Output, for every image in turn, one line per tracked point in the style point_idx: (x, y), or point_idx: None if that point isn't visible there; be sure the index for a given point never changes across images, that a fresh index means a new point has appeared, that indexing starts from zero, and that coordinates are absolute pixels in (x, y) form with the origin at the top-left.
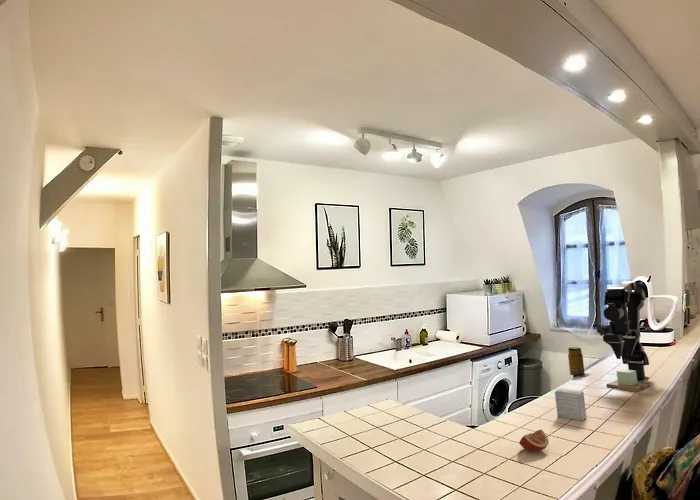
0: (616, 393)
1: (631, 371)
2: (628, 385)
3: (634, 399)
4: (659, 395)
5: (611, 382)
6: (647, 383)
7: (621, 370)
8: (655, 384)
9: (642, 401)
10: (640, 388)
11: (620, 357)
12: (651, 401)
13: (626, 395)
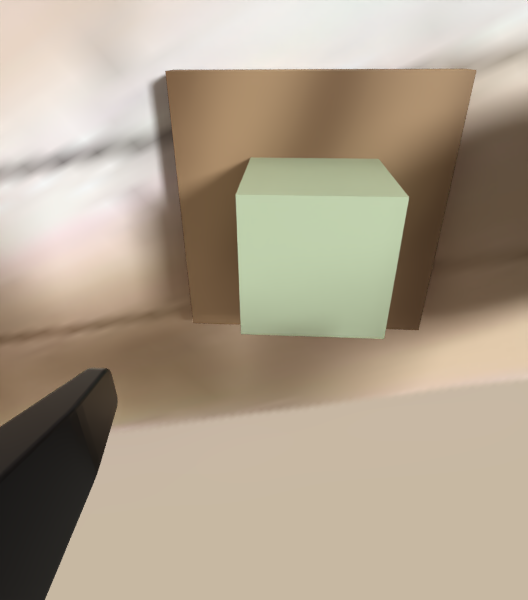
0: (51, 235)
1: (316, 323)
2: None
3: (22, 363)
4: (204, 418)
5: (261, 79)
6: (396, 326)
7: (311, 223)
8: (491, 326)
9: (24, 400)
10: None
11: (101, 432)
12: None
13: (61, 302)
